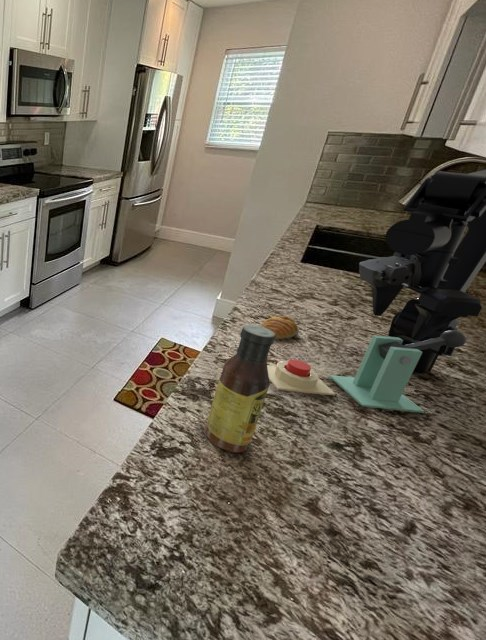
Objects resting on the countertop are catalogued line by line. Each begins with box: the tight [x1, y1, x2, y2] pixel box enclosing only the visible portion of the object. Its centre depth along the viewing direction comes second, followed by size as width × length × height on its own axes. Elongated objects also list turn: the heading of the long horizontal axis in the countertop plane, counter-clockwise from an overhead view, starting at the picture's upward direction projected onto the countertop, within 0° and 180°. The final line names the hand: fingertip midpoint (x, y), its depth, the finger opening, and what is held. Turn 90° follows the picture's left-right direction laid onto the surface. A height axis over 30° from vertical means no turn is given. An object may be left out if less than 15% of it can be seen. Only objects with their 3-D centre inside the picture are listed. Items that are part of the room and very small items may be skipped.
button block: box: [267, 360, 336, 396], centre depth 80 cm, size 10×8×3 cm
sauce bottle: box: [205, 323, 275, 454], centre depth 62 cm, size 6×6×20 cm
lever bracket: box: [329, 335, 425, 414], centre depth 76 cm, size 10×9×12 cm
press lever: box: [379, 330, 467, 359], centre depth 73 cm, size 12×3×3 cm, turn 82°
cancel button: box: [286, 358, 312, 377], centre depth 80 cm, size 4×4×2 cm
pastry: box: [261, 314, 299, 340], centre depth 99 cm, size 9×7×4 cm
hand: (395, 326), depth 76 cm, fingers open, 9 cm apart
